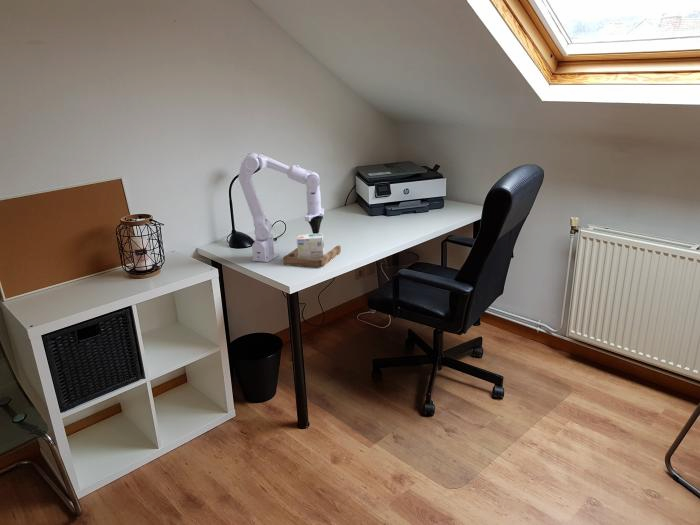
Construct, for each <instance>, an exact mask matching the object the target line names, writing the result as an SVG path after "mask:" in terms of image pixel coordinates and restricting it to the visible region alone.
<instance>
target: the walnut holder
mask: <svg viewBox="0 0 700 525" xmlns="http://www.w3.org/2000/svg"><path fill="white" fill-rule="evenodd" d="M341 247H342V246H341V245H338V244H337V245H336V246H335V247H333V248H332V249H331V250H329V251H328V252H327V253H324V254H325V255H324V256H323V257H322V258H320V259H311V258H300V257H298V247H296V248H295V249H293V250H292V251H291V252H289V253H287V254H285V256H283V257H282V258H283V265H287V264H290V265H289V266H297V265H301V266H300V267H307V266H313V267H312V268H318V267H322V268H324V266H326V265H328V263H329V262H331V261H332V260H333V259H334V258H336V257H337V256H338V255H340V252H341V253H342V250H341V249H342V248H341ZM336 255H337V256H336ZM335 256H336V257H335ZM331 259H332V260H331ZM330 260H331V261H330ZM325 264H326V265H325Z"/></svg>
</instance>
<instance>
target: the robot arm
mask: <svg viewBox="0 0 700 525" xmlns="http://www.w3.org/2000/svg"><path fill="white" fill-rule="evenodd" d="M268 168H269V169H272V170H274V171H277V172H280V173H283V174H285V175H286V176H287V178H288V179H290V180H292V181H294V182H297V183H300V184H302V185H303V184H305V186H306V204H307V205H306V206H307V212H306V215H305V216H304V222H308V224H309V225H310V228H311V231H312V234H320V228H321V224H322V221H323V219H324V216H323V215H325V208H323V207H322V201H321V200H322V197H321V190H320V189H321V186H320V184H321V181H320V175H319V174H318V173H317V172H315V171H311V170H310V169H308V170H307V169H305V168H302V167H300V165H298V164H296V165H295V164H293V165H290V166H289V165H287V164H284V163H282V162H280V161H277V160H276V159H274V158H271V157H269V156H267V155H264V154H262V153H261V154H259V153H258V152H255V151H252V152H249V153H248V154H247V155H246V156H245V158H244V159H243V160H242V162H241V164H240V169H239V173H238V176H237V177H238V181H239V184H240V187H241V189H242V193H243V194H244V198H245V200H246V203H247V205H248V209H249V212H250V214H251V216H252V220H253V226H254V236H255V241H254V242H253V244H252V246H251V249H252V250H251V251H252V259H251V261H252V262H263V263H269V262H270V261H272V260H273V259H275V258H277V257H278V256H279V254H278V253H275V248H274V239H273V234H272V233H271V232H272V227H273V225H272V223H271V221H269V220H268V218H267V216H266V214H265V213H264V210H263V207H262V205H261V202H260V199H259V195H258V194H257V190H256V188H255V186H254V183H253V180H252V178H253V175H254V173H255V172H256V171H258V169H260V170H262V169H268Z"/></svg>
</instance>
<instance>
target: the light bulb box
mask: <svg viewBox="0 0 700 525" xmlns="http://www.w3.org/2000/svg"><path fill="white" fill-rule="evenodd" d="M296 237H297V239H296V246H297V247H296V248H298V257H300V258H311V259H320V258H322V257H323V256H324V255H325V254H326V253H325V244H324V234H323V233H322V232H321V233H320V232H319V233H318V234H313V233H306V234H297V236H296Z"/></svg>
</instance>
